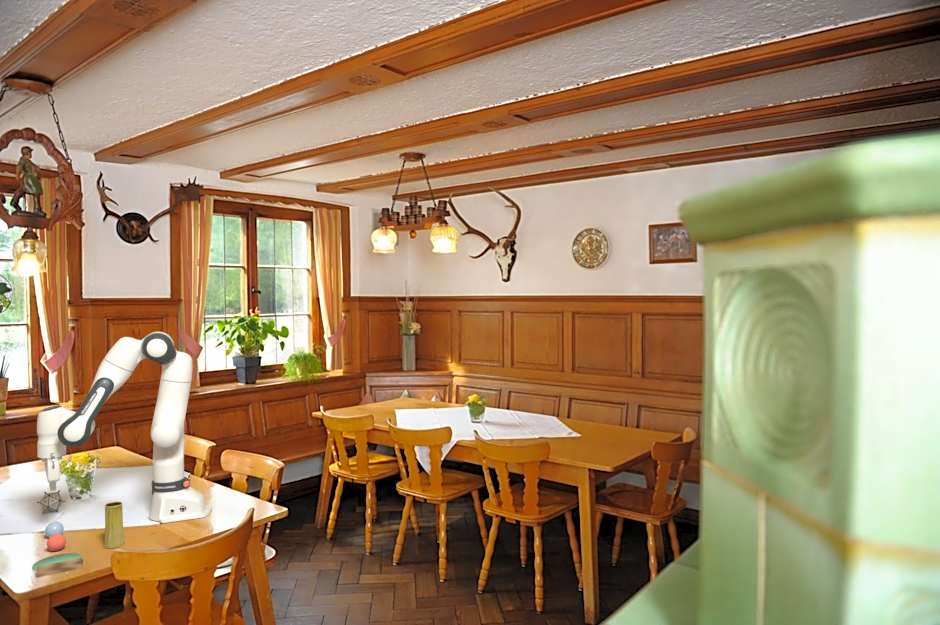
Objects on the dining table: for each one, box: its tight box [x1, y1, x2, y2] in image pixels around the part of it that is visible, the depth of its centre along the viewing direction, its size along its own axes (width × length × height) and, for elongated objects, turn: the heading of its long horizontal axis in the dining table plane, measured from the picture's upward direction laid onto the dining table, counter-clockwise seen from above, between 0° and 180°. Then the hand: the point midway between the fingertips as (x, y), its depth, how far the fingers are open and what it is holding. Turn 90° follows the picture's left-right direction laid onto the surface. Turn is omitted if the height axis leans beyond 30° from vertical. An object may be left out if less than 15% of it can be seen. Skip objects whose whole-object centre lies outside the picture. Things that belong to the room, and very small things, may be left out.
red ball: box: [46, 533, 67, 552], centre depth 215 cm, size 6×6×6 cm
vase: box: [103, 501, 125, 549], centre depth 220 cm, size 6×6×14 cm
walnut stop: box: [36, 558, 84, 578], centre depth 199 cm, size 12×2×2 cm, turn 125°
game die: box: [36, 490, 66, 514], centre depth 254 cm, size 9×8×10 cm
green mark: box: [31, 552, 85, 572], centre depth 206 cm, size 14×14×1 cm
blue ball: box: [44, 521, 65, 539], centre depth 227 cm, size 6×6×6 cm
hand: (52, 488), depth 234 cm, fingers open, 4 cm apart
